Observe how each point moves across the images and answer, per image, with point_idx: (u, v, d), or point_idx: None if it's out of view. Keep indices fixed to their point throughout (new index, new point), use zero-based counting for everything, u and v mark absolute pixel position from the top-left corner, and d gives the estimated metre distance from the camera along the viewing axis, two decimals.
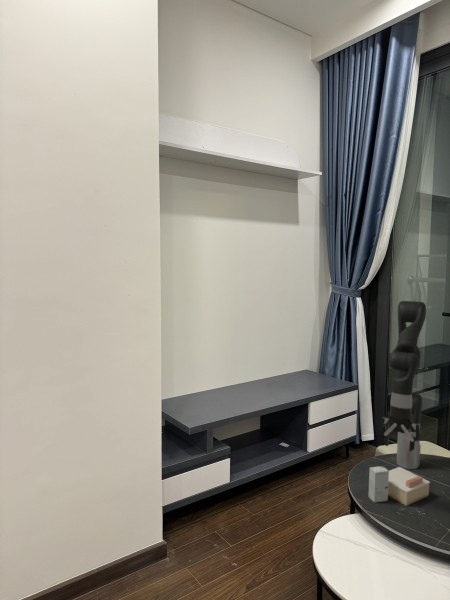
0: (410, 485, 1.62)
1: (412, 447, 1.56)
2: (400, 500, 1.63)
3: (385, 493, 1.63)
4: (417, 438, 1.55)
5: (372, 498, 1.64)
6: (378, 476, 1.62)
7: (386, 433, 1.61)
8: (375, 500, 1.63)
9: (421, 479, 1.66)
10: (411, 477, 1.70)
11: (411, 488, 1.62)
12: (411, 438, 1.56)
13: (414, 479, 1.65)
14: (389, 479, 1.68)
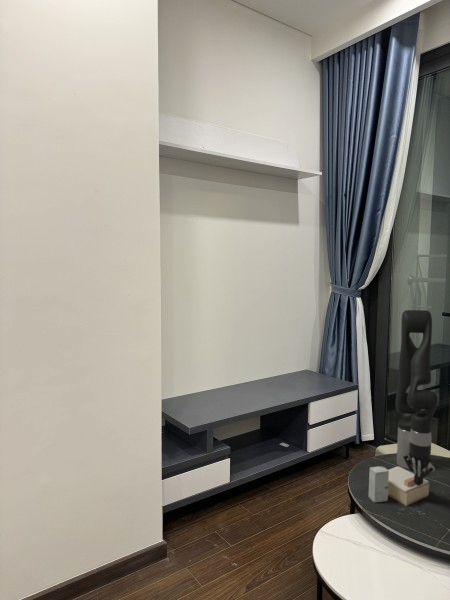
0: (408, 484, 1.63)
1: (419, 482, 1.62)
2: (400, 500, 1.63)
3: (385, 493, 1.63)
4: (423, 474, 1.60)
5: (372, 498, 1.64)
6: (378, 476, 1.62)
7: (415, 472, 1.63)
8: (375, 500, 1.63)
9: None
10: (409, 476, 1.71)
11: (409, 487, 1.63)
12: (418, 473, 1.62)
13: (412, 478, 1.65)
14: None
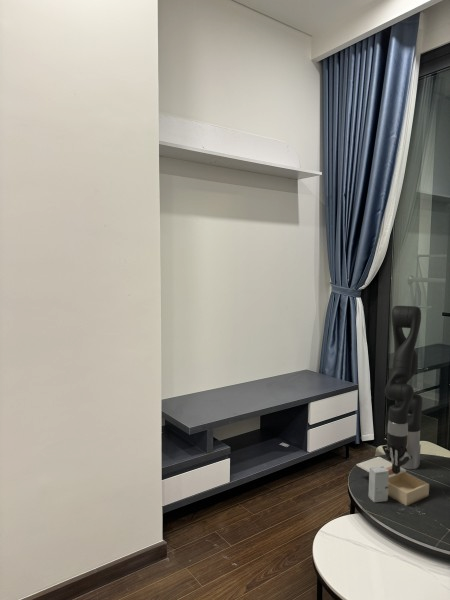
0: None
1: (396, 470, 1.71)
2: (400, 500, 1.63)
3: (385, 493, 1.63)
4: (399, 463, 1.69)
5: (372, 498, 1.64)
6: (378, 476, 1.62)
7: (393, 461, 1.71)
8: (375, 500, 1.63)
9: None
10: (389, 466, 1.79)
11: None
12: (395, 462, 1.71)
13: (391, 467, 1.74)
14: (368, 468, 1.78)
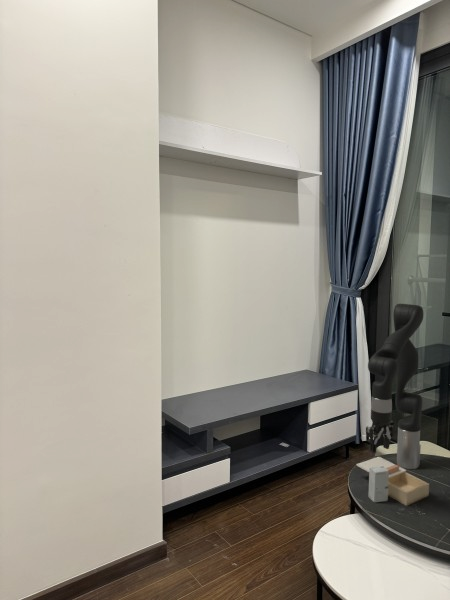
0: None
1: None
2: (400, 500, 1.63)
3: (385, 493, 1.63)
4: None
5: (372, 498, 1.64)
6: (378, 476, 1.62)
7: None
8: (375, 500, 1.63)
9: (398, 467, 1.75)
10: (389, 466, 1.79)
11: None
12: None
13: (391, 467, 1.74)
14: (368, 468, 1.78)
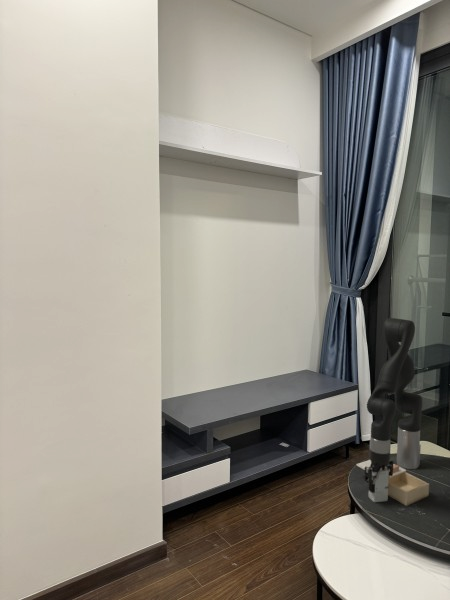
0: None
1: None
2: (400, 500, 1.63)
3: (385, 493, 1.63)
4: None
5: (372, 498, 1.64)
6: None
7: None
8: (375, 500, 1.63)
9: (398, 467, 1.75)
10: None
11: None
12: None
13: None
14: None
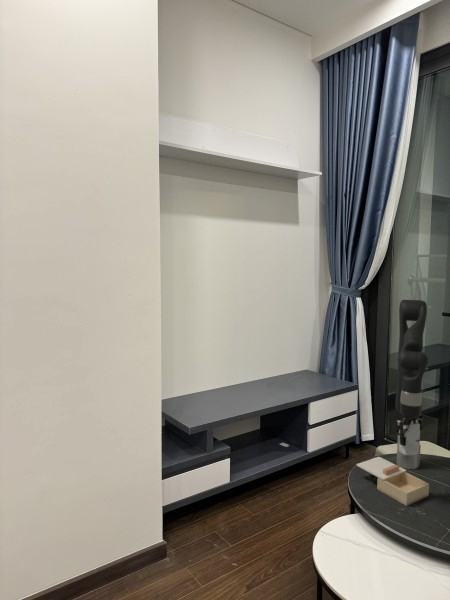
0: (387, 473, 1.72)
1: (400, 440, 1.64)
2: (400, 500, 1.63)
3: (416, 446, 1.64)
4: None
5: (403, 451, 1.65)
6: (410, 429, 1.63)
7: None
8: (406, 453, 1.64)
9: (398, 467, 1.75)
10: (389, 466, 1.79)
11: (388, 476, 1.71)
12: None
13: (391, 467, 1.74)
14: (368, 468, 1.78)
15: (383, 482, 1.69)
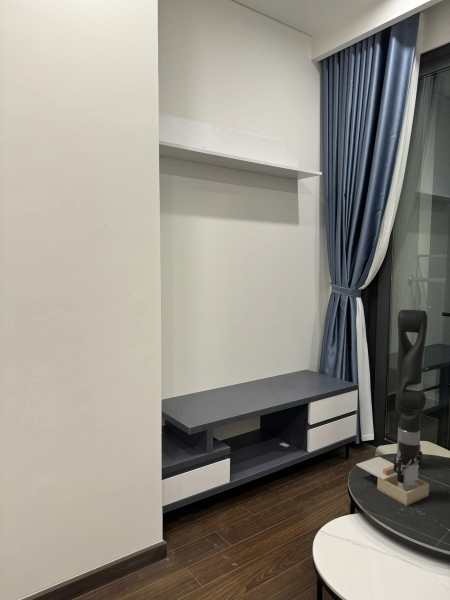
0: (387, 473, 1.72)
1: None
2: (400, 500, 1.63)
3: (415, 487, 1.66)
4: None
5: None
6: (409, 470, 1.65)
7: None
8: None
9: None
10: (389, 466, 1.79)
11: (388, 476, 1.71)
12: None
13: (391, 467, 1.74)
14: (368, 468, 1.78)
15: (383, 482, 1.69)
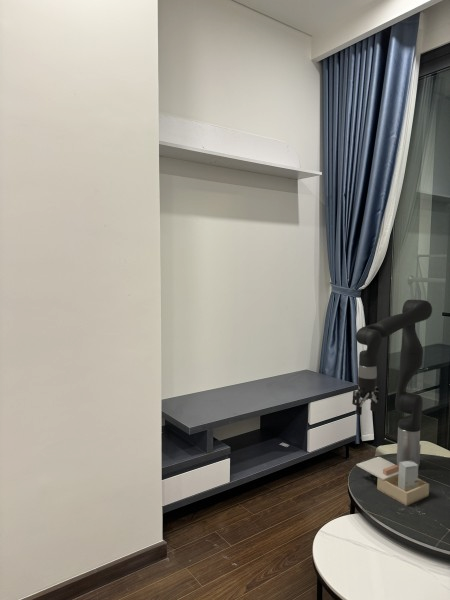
0: (387, 473, 1.72)
1: None
2: (400, 500, 1.63)
3: (415, 487, 1.66)
4: None
5: None
6: (409, 470, 1.65)
7: None
8: None
9: (398, 467, 1.75)
10: (389, 466, 1.79)
11: (388, 476, 1.71)
12: None
13: (391, 467, 1.74)
14: (368, 468, 1.78)
15: (383, 482, 1.69)
